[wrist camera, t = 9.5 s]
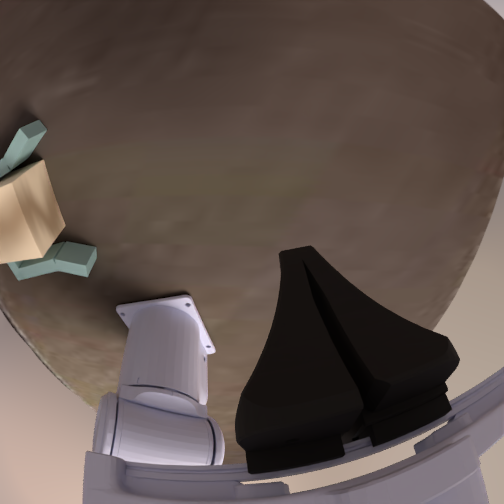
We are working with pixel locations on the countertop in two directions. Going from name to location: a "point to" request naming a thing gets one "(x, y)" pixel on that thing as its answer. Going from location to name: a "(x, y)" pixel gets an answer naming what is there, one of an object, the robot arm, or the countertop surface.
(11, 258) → the birch block
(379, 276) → the countertop surface
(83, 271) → the dock
